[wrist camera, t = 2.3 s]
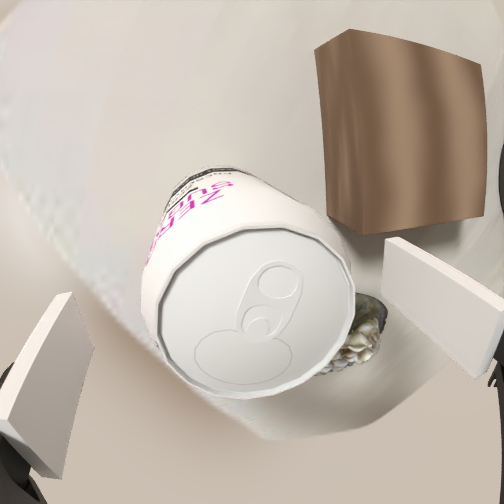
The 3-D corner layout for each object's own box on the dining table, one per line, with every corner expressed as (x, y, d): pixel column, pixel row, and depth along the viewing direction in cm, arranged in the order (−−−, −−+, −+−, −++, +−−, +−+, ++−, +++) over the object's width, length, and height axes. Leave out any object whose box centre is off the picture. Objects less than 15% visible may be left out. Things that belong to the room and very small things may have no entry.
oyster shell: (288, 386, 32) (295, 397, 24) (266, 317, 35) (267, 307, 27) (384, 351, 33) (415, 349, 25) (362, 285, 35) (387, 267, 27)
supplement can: (249, 276, 26) (312, 413, 12) (153, 250, 24) (119, 388, 10) (284, 185, 24) (405, 249, 10) (183, 150, 22) (172, 164, 8)
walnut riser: (437, 69, 22) (480, 64, 17) (442, 201, 28) (483, 216, 22) (314, 49, 20) (349, 28, 15) (326, 214, 25) (362, 235, 20)
